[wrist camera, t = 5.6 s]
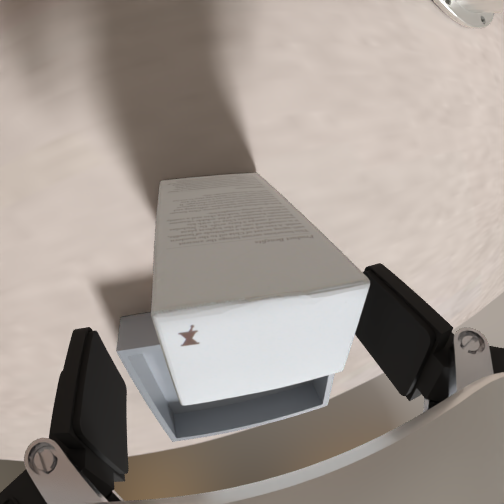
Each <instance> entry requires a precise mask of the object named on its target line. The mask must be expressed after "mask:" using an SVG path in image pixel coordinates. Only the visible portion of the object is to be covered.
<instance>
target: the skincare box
mask: <svg viewBox="0 0 504 504" xmlns="http://www.w3.org/2000/svg"><path fill="white" fill-rule="evenodd" d="M369 287H370V280H369V279H368V278H367V277H366V276H365V275H364V274H363V273H362V272H361V271H360V270H359V269H358V268H357V267H356V266H355V265H354V264H353V263H352V262H351V261H350V260H349V259H348V258H347V257H346V256H345V255H344V254H343V253H342V252H341V251H340V250H339V249H338V248H337V247H336V246H335V245H334V244H333V243H332V242H331V241H330V240H329V239H328V238H327V237H326V236H325V235H324V234H323V233H322V232H321V231H319V230H318V229H317V228H316V227H315V226H314V225H313V224H312V223H311V222H310V221H309V220H308V219H307V218H306V217H305V216H304V215H303V214H302V213H301V212H300V211H298V210H297V209H296V208H295V207H294V206H293V205H292V204H291V203H290V202H289V201H288V200H287V199H286V198H284V197H283V196H282V195H281V194H280V193H279V192H278V191H277V190H276V189H275V188H273V187H272V186H271V185H270V184H269V183H268V182H267V181H266V180H265V179H264V178H262V177H261V176H260V175H259V174H258V173H242V174H226V175H213V176H202V177H191V178H181V179H171V180H162V181H160V186H159V196H158V206H157V214H156V227H155V241H154V261H153V286H152V304H151V317H152V320H153V323H154V327H155V330H156V333H157V336H158V340H159V343H160V346H161V349H162V352H163V355H164V358H165V362H166V365H167V368H168V371H169V374H170V376H171V379H172V382H173V385H174V388H175V391H176V394H177V397H178V399H179V402H180V403H181V405H192V404H198V403H204V402H210V401H216V400H221V399H226V398H232V397H238V396H243V395H248V394H253V393H258V392H263V391H268V390H273V389H277V388H281V387H285V386H289V385H293V384H297V383H301V382H305V381H309V380H312V379H316V378H320V377H323V376H327V375H330V374H333V373H337V372H341V371H343V370H344V367H345V363H346V361H347V358H348V354H349V351H350V348H351V345H352V342H353V339H354V335H355V332H356V329H357V326H358V322H359V319H360V316H361V313H362V309H363V306H364V303H365V300H366V296H367V293H368V290H369Z"/></svg>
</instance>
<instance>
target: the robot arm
mask: <svg viewBox="0 0 504 504" xmlns="http://www.w3.org/2000/svg"><path fill="white" fill-rule="evenodd" d="M433 1H434V3H435V4H436V5H437V6H438V7H439V8H440V9H441V10H442V11H443V12H444V13H445V14H446V15H448V16H449V17H450V18H451V19H452V20H454V21H455V22H457V23H459V24H460V25H462V26H465V27H467V28H477V29H479V28H485V27H487V26H488V25H489V24H490V23H491V21H492V19H493V16H494V13H504V0H433ZM363 274H364V275H365V276H366V277H367V278H368V279H369V280H370V287H369V290H368V293H367V296H366V300H365V303H364V306H363V309H362V313H361V316H360V319H359V322H358V326H357V329H356V332H355V335H356V336H357V338H358V339H359V340H360V341H361V343H362V344H363V345H364V347H365V348H366V349H367V351H368V352H369V353H370V354H371V356H372V357H373V358H374V360H375V361H376V362H377V364H378V365H379V366H380V368H381V369H382V370H383V372H384V373H385V374H386V376H387V377H388V378H389V380H390V381H391V382H392V383H393V385H394V386H395V387H396V389H397V390H398V391H399V393H400V394H401V395H403V396H406V397H407V399H408V400H409V401H411V400H413V399H414V398H416V397H418V396H420V395H421V394H422V395H423V396H424V410H423V413H422V414H420V415H419V416H417V417H415V418H414V419H412V420H410V421H408V422H406V423H405V424H403V425H401V426H399V427H397V428H395V429H394V430H392V431H390V432H388V433H386V434H384V435H382V436H380V437H378V438H376V439H374V440H372V441H369V442H367V443H365V444H363V445H361V446H359V447H356V448H354V449H352V450H349V451H347V452H345V453H342V454H340V455H338V456H335V457H333V458H330V459H327V460H325V461H322V462H320V463H317V464H314V465H311V466H309V467H306V468H303V469H300V470H297V471H294V472H290V473H287V474H284V475H281V476H277V477H274V478H270V479H267V480H263V481H259V482H256V483H251V484H247V485H243V486H238V487H234V488H229V489H225V490H219V491H213V492H208V493H201V494H195V495H188V496H180V497H171V498H162V499H150V500H134V501H124V500H123V499H122V498H121V497H120V496H119V495H118V494H117V493H116V492H115V491H114V482H117V481H125V475H124V474H127V473H128V453H127V421H126V395H127V390H126V385H125V382H124V380H123V378H122V377H121V375H120V373H119V371H118V370H117V368H116V366H115V364H114V363H113V361H112V359H111V357H110V355H109V353H108V352H107V350H106V348H105V346H104V344H103V342H102V340H101V338H100V336H99V334H98V332H97V331H93V330H92V329H91V328H90V327H87V328H81V329H75V330H74V331H73V333H72V337H71V341H70V344H69V348H68V352H67V356H66V360H65V365H64V369H63V371H62V372H61V374H60V378H59V382H58V387H57V392H56V397H55V403H54V408H53V414H52V420H51V427H50V434H49V438H40V439H37V440H35V441H33V442H32V443H31V444H30V445H29V446H28V448H27V450H26V452H25V456H24V463H25V467H26V470H25V471H24V472H23V473H22V474H20V475H19V476H18V477H17V478H16V479H15V480H14V481H13V482H12V483H11V484H10V485H9V486H7V487H6V488H5V489H4V490H3V491H2V492H1V493H0V504H504V348H498V347H493V346H489V343H488V341H487V339H486V337H485V336H484V335H483V334H482V333H481V332H480V331H478V330H476V329H473V328H461V329H459V330H458V331H456V333H455V335H454V334H453V333H452V329H453V327H452V326H451V325H450V324H449V323H448V322H447V321H446V320H445V319H444V318H442V317H441V316H440V315H439V314H438V313H437V312H436V311H435V310H434V309H433V308H432V307H431V306H430V305H428V304H427V303H426V302H425V301H424V300H423V299H422V298H421V297H420V296H418V295H417V294H416V293H415V292H414V291H413V290H412V289H411V288H409V287H408V286H407V285H406V284H405V283H404V282H403V281H401V280H400V279H399V278H398V277H397V276H396V275H395V274H393V273H392V272H391V271H390V270H389V269H387V268H386V267H385V266H384V265H383V264H380V263H379V264H375V265H372V266H368V267H366V268H365V271H364V272H363Z"/></svg>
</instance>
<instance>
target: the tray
mask: <svg viewBox="0 0 504 504" xmlns="http://www.w3.org/2000/svg"><path fill="white" fill-rule="evenodd" d="M116 351H117V353H118V355H119V357H120V359H121V361H122V362H123V364H124V366H125V368H126V370H127V371H128V373H129V375H130V377H131V378H132V380H133V382H134V384H135V385H136V387H137V389H138V390H139V392H140V394H141V395H142V397H143V398H144V400H145V402H146V403H147V405H148V406H149V408H150V409H151V411H152V413H153V414H154V416H155V417H156V419H157V420H158V422H159V423H160V425H161V426H162V428H163V429H164V430H165V432H166V433H167V435H168V436H169V438H170V439H171V440H172V442H173V441H181V440H188V439H194V438H201V437H207V436H212V435H218V434H223V433H228V432H233V431H238V430H242V429H247V428H251V427H255V426H259V425H263V424H267V423H271V422H275V421H278V420H282V419H285V418H289V417H292V416H296V415H299V414H302V413H306V412H309V411H312V410H315V409H318V408H321V407H324V406H327V405H328V401H329V397H330V392H331V388H332V384H333V379H334V374H335V373H333V374H330V375H327V376H323V377H320V378H316V379H312V380H309V381H305V382H301V383H297V384H293V385H289V386H285V387H281V388H277V389H273V390H268V391H263V392H258V393H253V394H248V395H243V396H238V397H232V398H226V399H221V400H216V401H210V402H204V403H198V404H192V405H181V403H180V402H179V399H178V397H177V394H176V391H175V388H174V385H173V382H172V379H171V376H170V374H169V371H168V368H167V365H166V362H165V358H164V355H163V352H162V349H161V346H160V343H159V340H158V336H157V333H156V330H155V327H154V323H153V320H152V317H151V312H149V313H143V314H137V315H131V316H125V317H121V319H120V326H119V334H118V342H117V350H116Z"/></svg>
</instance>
